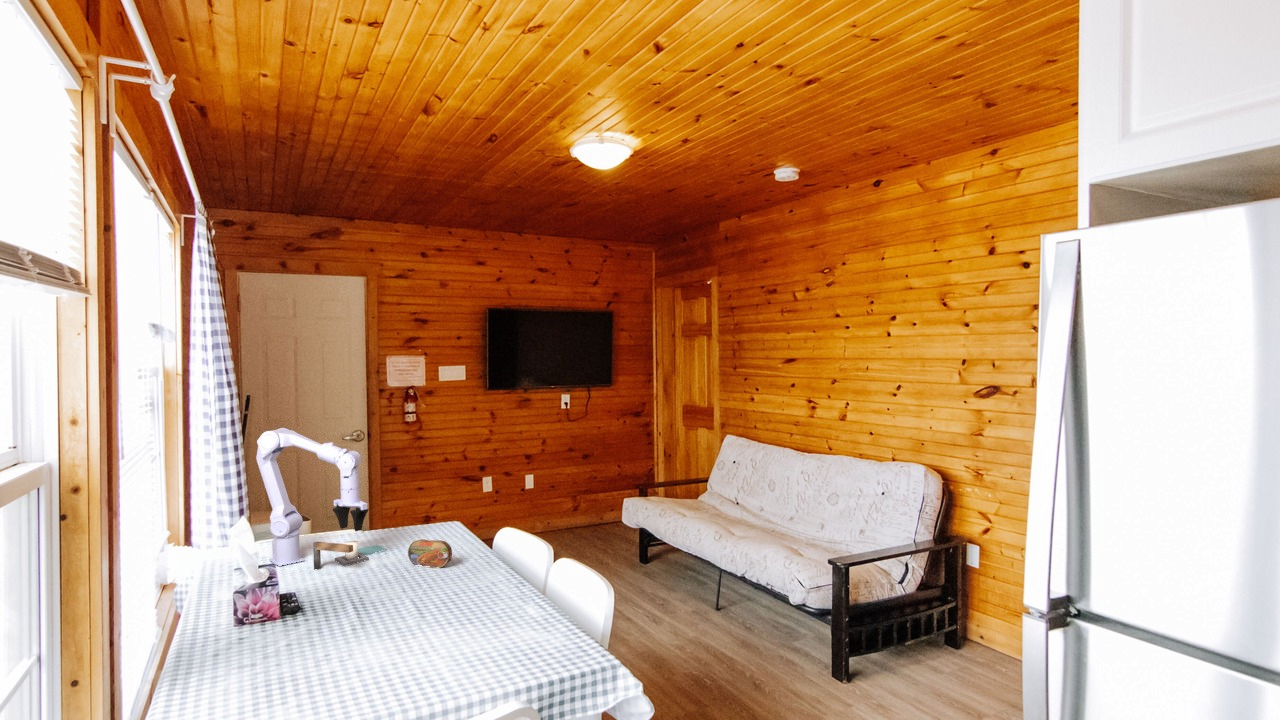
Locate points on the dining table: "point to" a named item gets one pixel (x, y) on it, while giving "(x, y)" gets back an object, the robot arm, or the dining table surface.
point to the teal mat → (371, 549)
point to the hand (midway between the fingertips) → (351, 529)
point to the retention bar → (328, 547)
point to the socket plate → (344, 562)
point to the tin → (430, 553)
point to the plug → (354, 553)
